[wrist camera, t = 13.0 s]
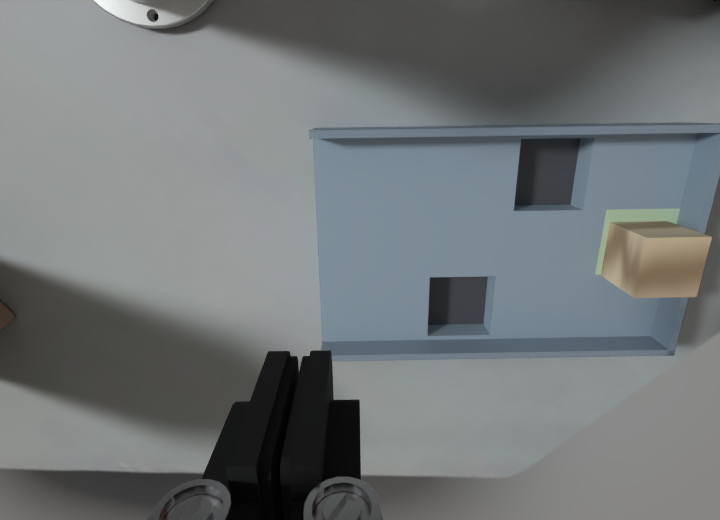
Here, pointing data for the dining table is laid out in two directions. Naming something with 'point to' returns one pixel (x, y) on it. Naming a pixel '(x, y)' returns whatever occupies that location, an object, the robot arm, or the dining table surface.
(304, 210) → the dining table surface
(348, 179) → the trap board
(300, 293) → the dining table surface
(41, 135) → the dining table surface
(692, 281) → the oak block
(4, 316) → the decorative block
